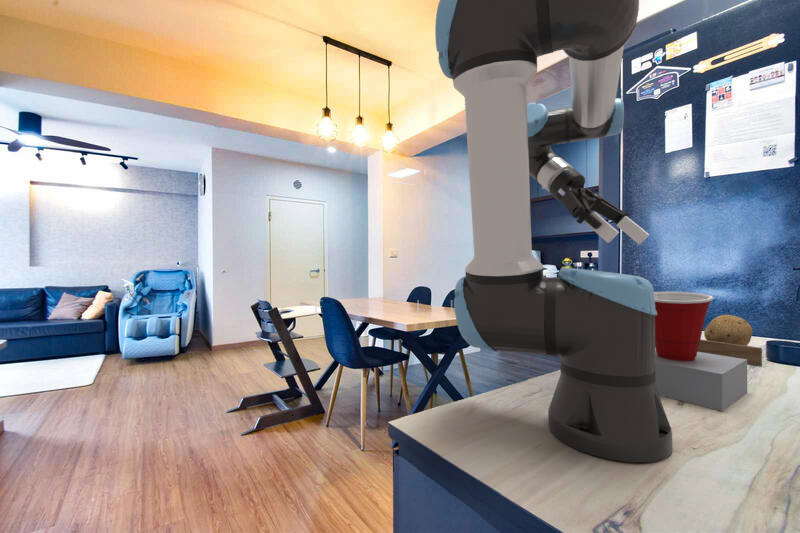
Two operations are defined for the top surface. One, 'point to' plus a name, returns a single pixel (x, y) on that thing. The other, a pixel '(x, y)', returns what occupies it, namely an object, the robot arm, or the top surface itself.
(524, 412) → the top surface
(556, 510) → the top surface
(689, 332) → the plastic cup
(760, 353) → the brown wooden frame
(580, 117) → the robot arm
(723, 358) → the grey square block
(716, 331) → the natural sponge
